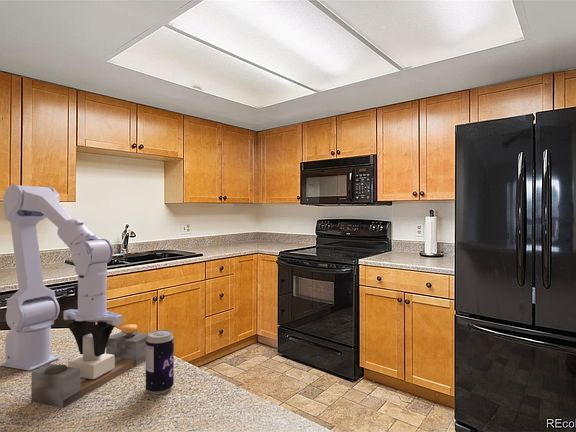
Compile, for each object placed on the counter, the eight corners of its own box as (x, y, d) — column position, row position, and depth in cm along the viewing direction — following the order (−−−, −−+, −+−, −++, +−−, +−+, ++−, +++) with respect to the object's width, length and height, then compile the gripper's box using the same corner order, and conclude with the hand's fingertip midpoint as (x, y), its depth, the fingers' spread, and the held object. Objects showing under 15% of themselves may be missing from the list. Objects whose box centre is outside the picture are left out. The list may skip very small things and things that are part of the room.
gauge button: (118, 339, 92) (118, 327, 92) (128, 334, 95) (128, 323, 95) (130, 341, 91) (130, 329, 91) (140, 336, 94) (140, 324, 94)
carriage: (67, 374, 79) (68, 338, 79) (89, 363, 85) (90, 330, 85) (93, 379, 77) (93, 342, 77) (114, 367, 83) (114, 333, 83)
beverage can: (164, 397, 74) (165, 339, 74) (139, 394, 75) (140, 336, 75) (178, 384, 80) (178, 330, 80) (155, 381, 81) (155, 328, 81)
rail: (29, 401, 72) (29, 369, 72) (123, 352, 97) (123, 329, 97) (65, 408, 70) (65, 375, 69) (151, 356, 94) (151, 332, 94)
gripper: (51, 294, 79) (51, 356, 80) (105, 300, 75) (104, 365, 75) (78, 288, 86) (78, 345, 86) (129, 293, 82) (128, 352, 82)
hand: (92, 353), depth 81 cm, fingers closed on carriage, 4 cm apart
